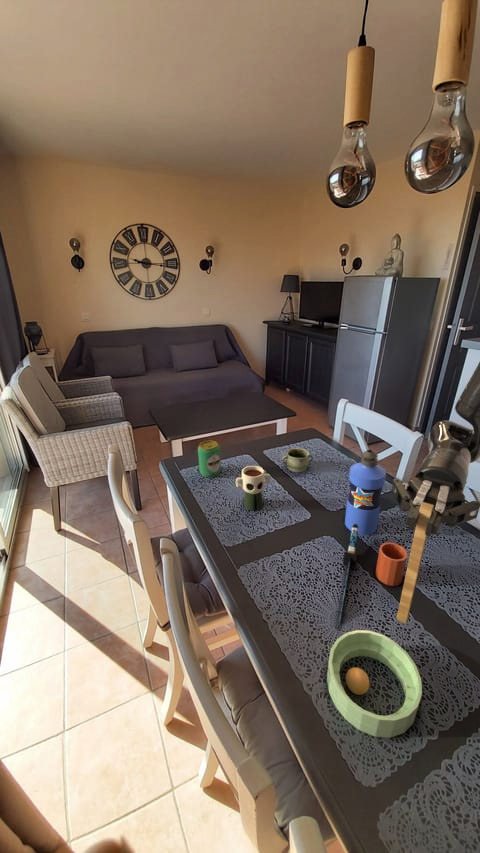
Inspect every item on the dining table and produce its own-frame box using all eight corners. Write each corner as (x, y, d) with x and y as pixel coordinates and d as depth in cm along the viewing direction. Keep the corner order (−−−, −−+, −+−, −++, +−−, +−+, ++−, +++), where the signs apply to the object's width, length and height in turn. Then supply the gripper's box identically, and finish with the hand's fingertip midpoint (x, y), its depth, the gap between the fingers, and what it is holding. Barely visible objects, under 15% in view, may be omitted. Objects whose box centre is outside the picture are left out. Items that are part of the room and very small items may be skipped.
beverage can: (206, 480, 132) (203, 451, 127) (196, 471, 138) (193, 443, 133) (225, 474, 136) (223, 445, 131) (214, 465, 142) (212, 438, 137)
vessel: (284, 474, 134) (284, 459, 132) (279, 462, 142) (279, 448, 140) (315, 471, 135) (316, 457, 133) (309, 460, 143) (310, 446, 141)
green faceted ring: (398, 652, 72) (403, 631, 69) (430, 744, 58) (437, 723, 56) (321, 648, 73) (323, 628, 70) (334, 738, 59) (337, 717, 57)
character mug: (239, 514, 113) (238, 479, 108) (235, 501, 120) (233, 467, 114) (272, 509, 115) (273, 474, 110) (266, 497, 121) (266, 463, 116)
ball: (364, 676, 67) (367, 662, 65) (370, 700, 63) (373, 686, 62) (342, 675, 67) (344, 661, 66) (347, 699, 64) (349, 685, 62)
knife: (351, 533, 102) (352, 521, 100) (362, 536, 101) (364, 524, 98) (325, 632, 78) (326, 619, 76) (339, 637, 77) (340, 625, 75)
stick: (398, 613, 64) (422, 501, 54) (408, 617, 63) (434, 505, 54) (396, 619, 63) (420, 506, 53) (405, 624, 62) (431, 510, 52)
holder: (396, 570, 91) (402, 542, 87) (405, 590, 85) (411, 561, 82) (372, 569, 91) (376, 541, 88) (379, 589, 86) (384, 560, 82)
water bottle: (348, 512, 113) (357, 440, 102) (379, 521, 108) (391, 447, 98) (340, 530, 105) (348, 454, 95) (373, 540, 101) (385, 462, 91)
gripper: (405, 447, 67) (375, 491, 54) (492, 467, 59) (482, 524, 47) (399, 481, 70) (369, 530, 57) (481, 505, 62) (469, 568, 50)
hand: (420, 527), depth 52 cm, fingers closed on stick, 1 cm apart
